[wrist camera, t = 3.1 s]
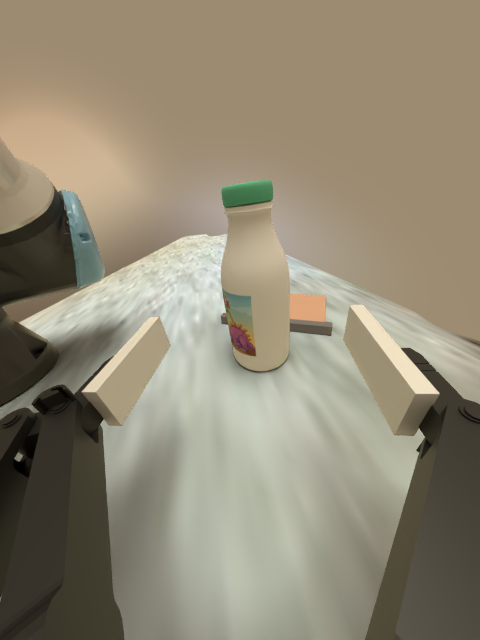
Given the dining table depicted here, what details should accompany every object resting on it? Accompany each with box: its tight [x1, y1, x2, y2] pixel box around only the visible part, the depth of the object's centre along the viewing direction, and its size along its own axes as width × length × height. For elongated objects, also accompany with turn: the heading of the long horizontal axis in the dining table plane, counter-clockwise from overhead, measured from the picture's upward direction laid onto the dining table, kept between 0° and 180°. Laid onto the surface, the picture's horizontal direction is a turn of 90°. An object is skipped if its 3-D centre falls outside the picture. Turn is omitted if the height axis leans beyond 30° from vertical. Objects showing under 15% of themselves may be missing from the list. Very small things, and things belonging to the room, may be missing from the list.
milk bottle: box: [221, 180, 290, 371], centre depth 23 cm, size 8×8×20 cm
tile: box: [290, 294, 326, 322], centre depth 38 cm, size 16×10×1 cm, turn 69°
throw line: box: [221, 313, 332, 335], centre depth 33 cm, size 18×1×2 cm, turn 69°
